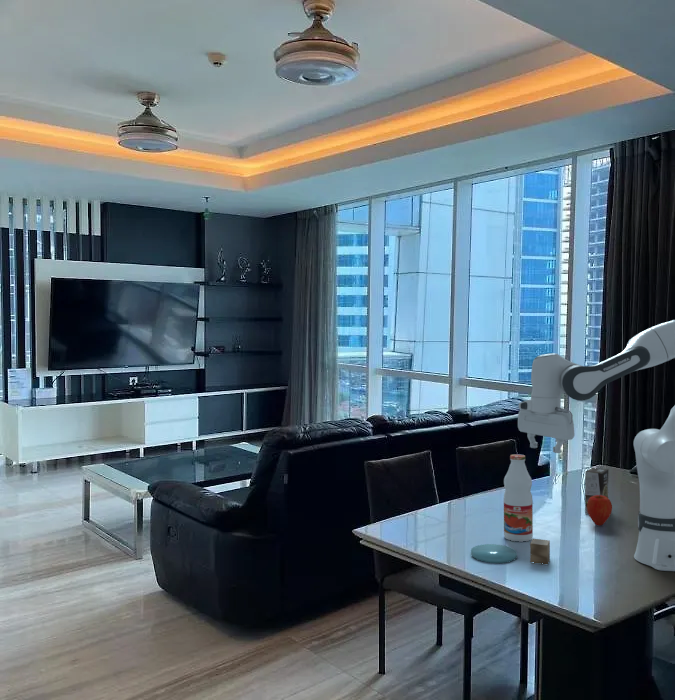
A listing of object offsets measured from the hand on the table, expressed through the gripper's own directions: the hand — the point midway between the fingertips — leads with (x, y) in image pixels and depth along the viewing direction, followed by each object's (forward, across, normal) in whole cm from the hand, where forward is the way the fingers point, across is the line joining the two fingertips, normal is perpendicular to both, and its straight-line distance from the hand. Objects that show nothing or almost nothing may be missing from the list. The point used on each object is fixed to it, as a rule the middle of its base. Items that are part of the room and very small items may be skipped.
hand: (545, 450), depth 212 cm
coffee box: (+33, +23, -52) cm, 66 cm away
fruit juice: (+33, +16, -5) cm, 37 cm away
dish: (+33, +8, +14) cm, 36 cm away
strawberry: (+33, +11, -39) cm, 52 cm away
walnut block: (+33, -4, +5) cm, 34 cm away
